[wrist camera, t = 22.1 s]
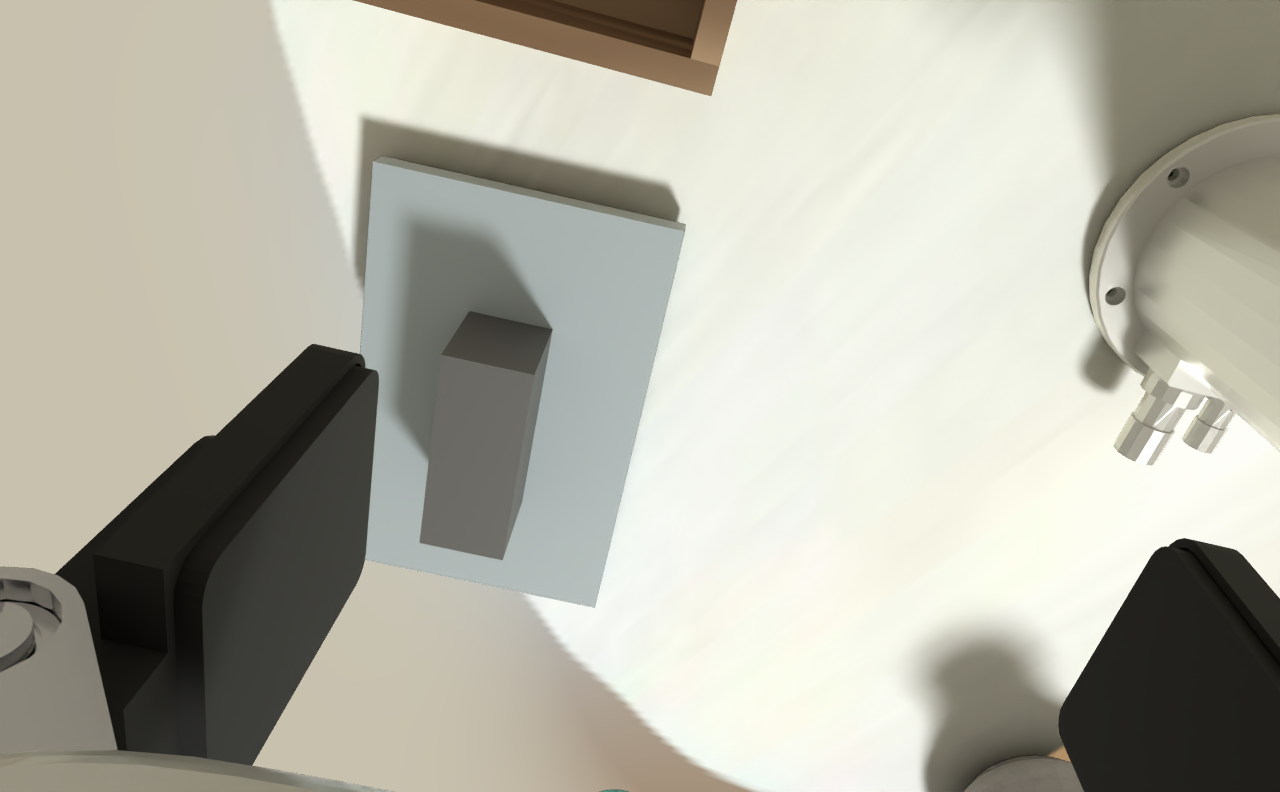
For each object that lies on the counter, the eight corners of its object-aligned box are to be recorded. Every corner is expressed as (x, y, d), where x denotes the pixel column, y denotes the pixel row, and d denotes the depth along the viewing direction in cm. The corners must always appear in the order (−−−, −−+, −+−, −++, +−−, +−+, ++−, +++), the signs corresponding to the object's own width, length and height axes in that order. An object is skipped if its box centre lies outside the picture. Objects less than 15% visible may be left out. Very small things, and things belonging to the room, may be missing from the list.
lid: (599, 582, 51) (583, 673, 45) (360, 532, 51) (309, 617, 44) (686, 218, 41) (682, 268, 35) (388, 151, 41) (329, 189, 34)
